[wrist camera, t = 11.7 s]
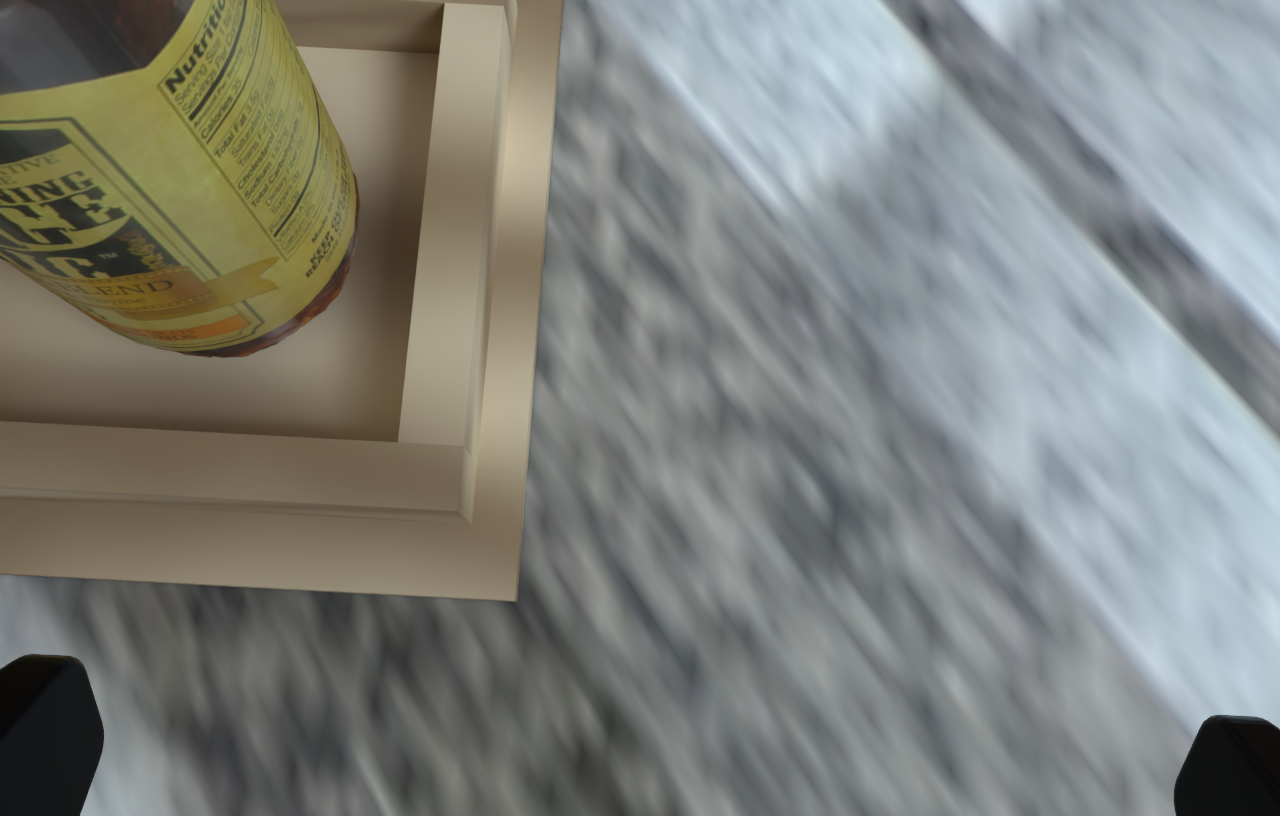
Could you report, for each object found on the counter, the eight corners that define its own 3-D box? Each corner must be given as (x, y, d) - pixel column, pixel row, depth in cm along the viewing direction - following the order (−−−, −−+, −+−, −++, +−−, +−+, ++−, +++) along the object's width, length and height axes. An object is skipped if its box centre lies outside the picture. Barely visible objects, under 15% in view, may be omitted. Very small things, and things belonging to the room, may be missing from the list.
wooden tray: (517, 602, 22) (503, 594, 20) (-157, 566, 22) (-253, 554, 20) (571, -103, 26) (566, -182, 24) (-1, -134, 26) (-64, -215, 24)
